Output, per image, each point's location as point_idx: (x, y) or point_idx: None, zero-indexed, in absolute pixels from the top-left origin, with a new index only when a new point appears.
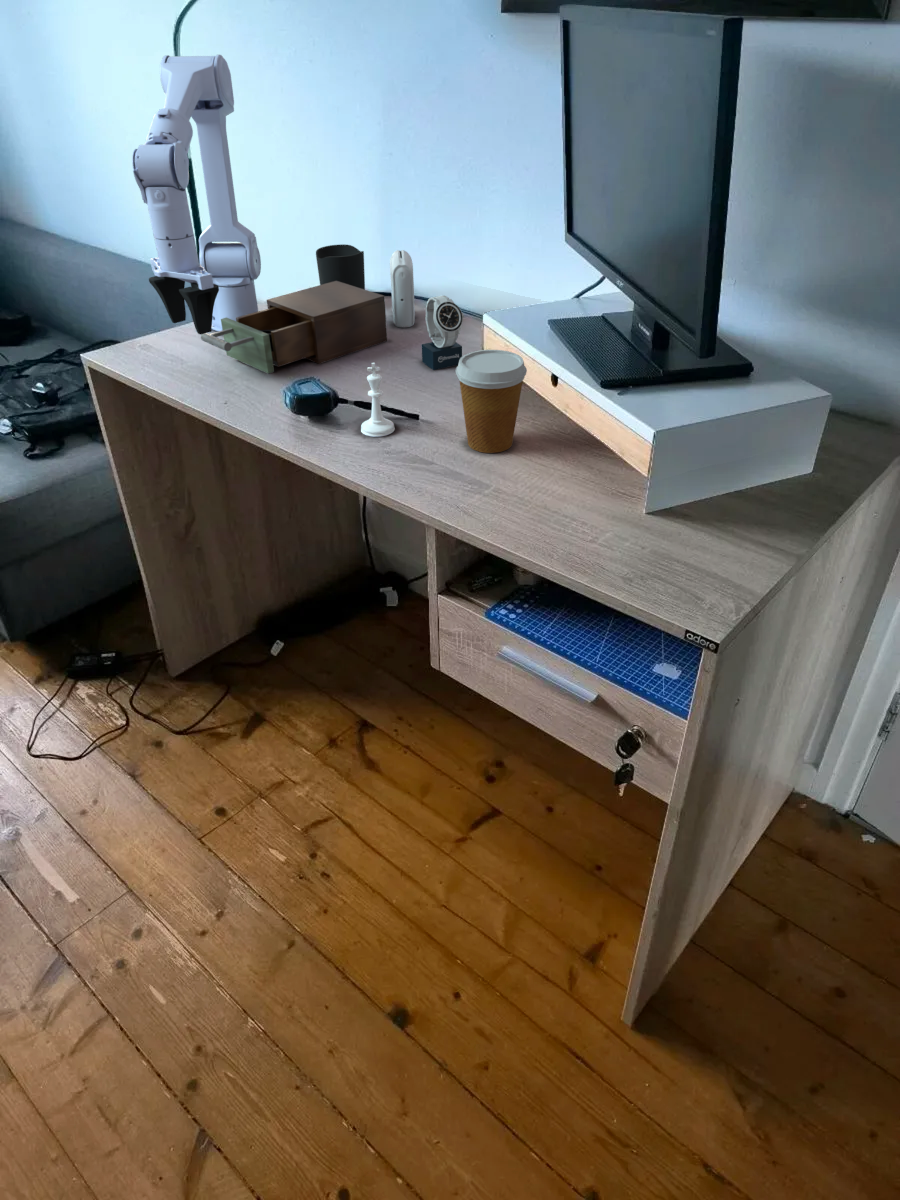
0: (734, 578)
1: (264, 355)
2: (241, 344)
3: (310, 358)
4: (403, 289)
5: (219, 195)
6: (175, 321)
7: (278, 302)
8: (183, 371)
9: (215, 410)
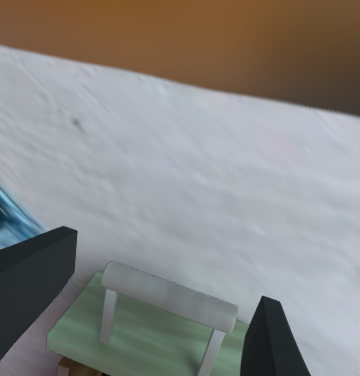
0: None
1: (81, 298)
2: (173, 337)
3: None
4: None
5: None
6: (259, 305)
7: None
8: (320, 234)
9: (63, 78)
